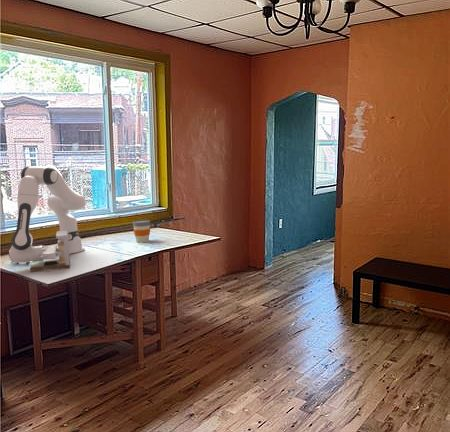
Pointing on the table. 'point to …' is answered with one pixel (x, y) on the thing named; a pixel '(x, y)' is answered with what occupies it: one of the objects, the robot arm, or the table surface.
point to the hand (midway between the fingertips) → (64, 251)
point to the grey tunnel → (64, 237)
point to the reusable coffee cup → (141, 230)
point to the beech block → (60, 248)
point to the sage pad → (37, 264)
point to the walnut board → (50, 266)
